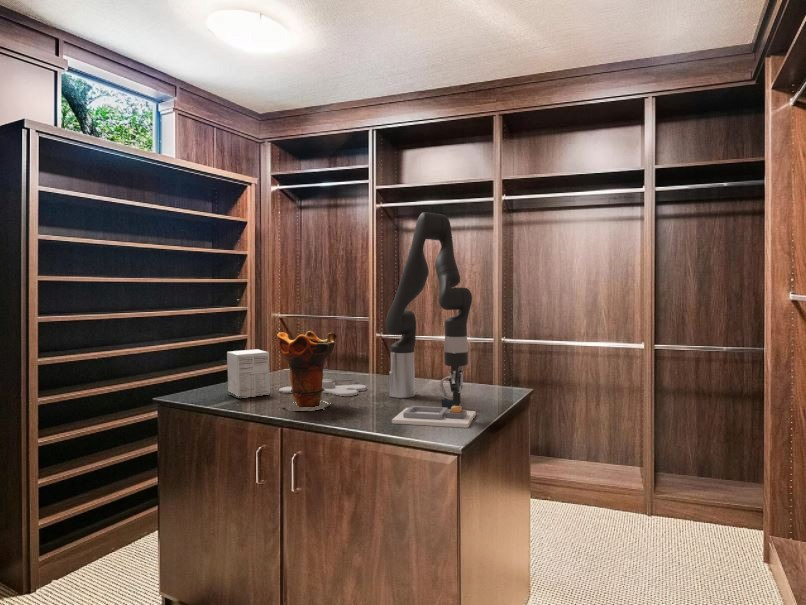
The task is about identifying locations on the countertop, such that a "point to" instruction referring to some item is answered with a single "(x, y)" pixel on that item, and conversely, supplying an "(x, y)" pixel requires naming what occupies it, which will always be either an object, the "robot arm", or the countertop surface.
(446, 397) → the watch
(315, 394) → the decorative vase
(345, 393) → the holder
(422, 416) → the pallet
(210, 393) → the countertop surface
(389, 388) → the robot arm
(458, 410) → the button
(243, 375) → the supplement box
